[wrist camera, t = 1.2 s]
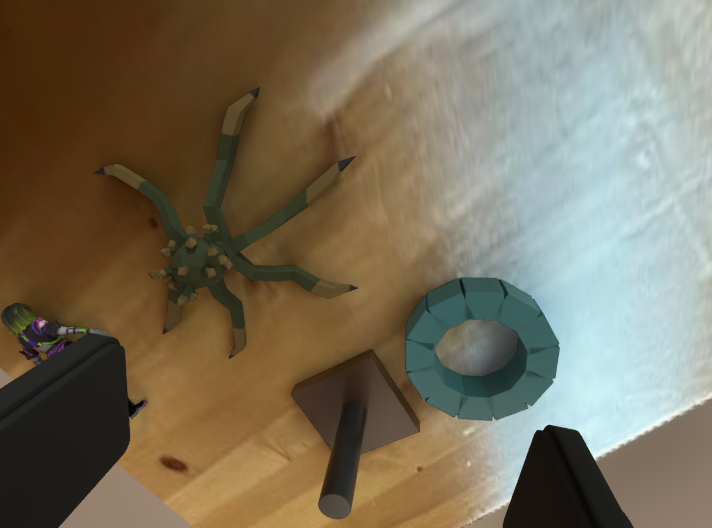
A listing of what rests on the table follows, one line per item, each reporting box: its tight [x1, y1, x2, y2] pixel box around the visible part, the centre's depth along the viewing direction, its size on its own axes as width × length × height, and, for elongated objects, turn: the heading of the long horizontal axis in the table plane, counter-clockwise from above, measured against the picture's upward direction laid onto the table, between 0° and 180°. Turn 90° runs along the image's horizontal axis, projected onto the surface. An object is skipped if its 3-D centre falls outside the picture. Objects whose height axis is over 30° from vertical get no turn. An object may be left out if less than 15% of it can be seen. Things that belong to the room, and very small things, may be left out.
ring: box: [405, 278, 560, 421], centre depth 34 cm, size 12×12×3 cm
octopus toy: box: [95, 87, 358, 359], centre depth 31 cm, size 25×20×9 cm
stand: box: [291, 349, 420, 519], centre depth 34 cm, size 9×9×12 cm
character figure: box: [1, 303, 147, 419], centre depth 41 cm, size 9×4×16 cm
